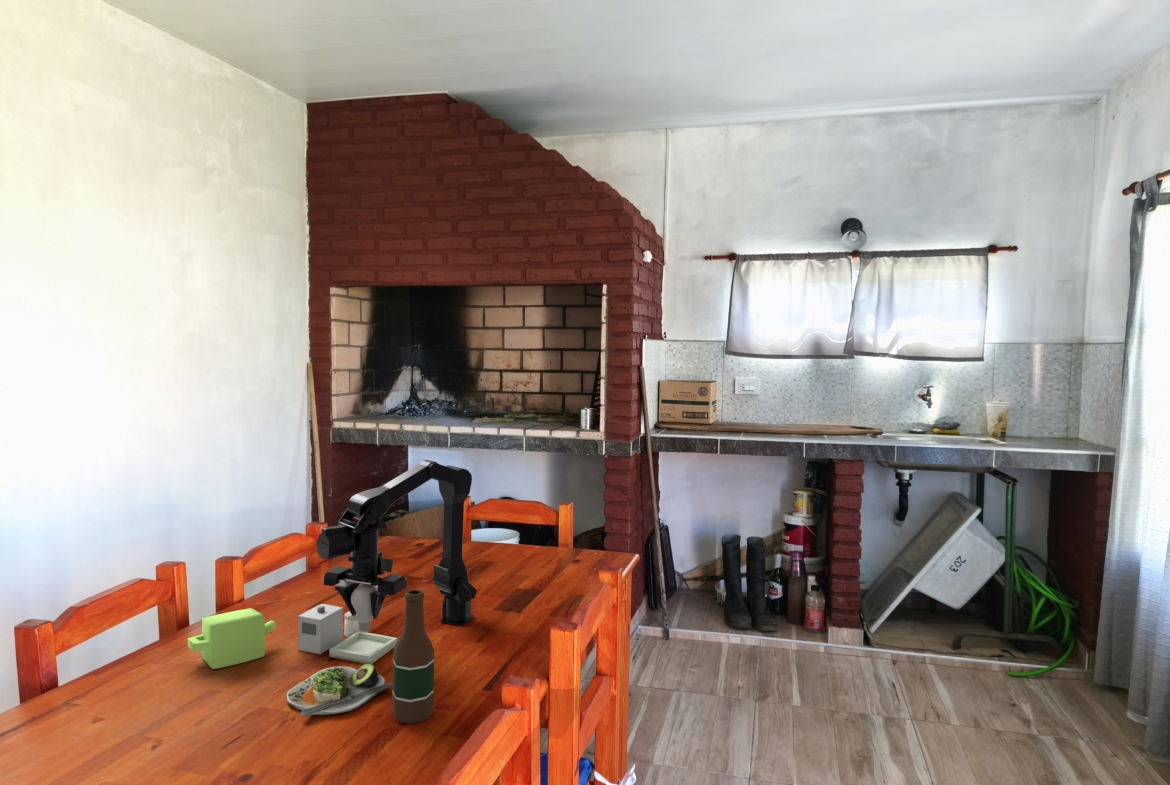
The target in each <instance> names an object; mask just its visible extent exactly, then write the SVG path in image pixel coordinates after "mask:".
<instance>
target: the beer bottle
mask: <svg viewBox="0 0 1170 785" xmlns="http://www.w3.org/2000/svg"><path fill="white" fill-rule="evenodd" d="M425 598H426V597H425V593H424V592H423V590H421V589H411V590H408V591H407V592H405V594H404V599H405V607H404V608H405V609H404V618H403V619H404V621H403V622H404V623H403V630H402V634H401V635H400V637H399V638H397V642H396V645H395V647H394V648H393V652H392V689H391V690H392V700H391V703H392V715H393V716H394V719H395V720H396V722H397V723H401V724H406V725H410V726H411V725H414V724H420V723H424V722H425V721H426V720H427V719H429V717H431V715H433V714H434V713H433V712H434V704H435V702H434V701H435V700H434V699H435V698H434V697H435V695H434V694H435V651H434V650H435V649H434V646H433V643H432V641H431V639H430V638H429V637H428V635H427V633H426V629H425V628H426V627H425V614H424V613H425V612H424V599H425Z"/></svg>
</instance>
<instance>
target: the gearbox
mask: <svg viewBox="0 0 1170 785" xmlns="http://www.w3.org/2000/svg"><path fill="white" fill-rule="evenodd" d="M265 620H266V619H265V616H264V615H263V614H262V613H261V612H259V611H257V610H255V609H253V608H251V607H250V608H245V609H243V608H242V609H239V610H234V611H233V610H232V611H227V612H224V613H219V614H214V615H210V616H207V617H203V618H202V619H201V634H200V635H195V636H191V637H187V647H188V648H189V649H190V650H191V651H192V652H193V653H195V652H201V658H202V659H203V661H204V663H206V664H207V666H208V667H210V668H211V669H212V670H216V669H221V668H225V667H226V668H227V667H230V666H234V665H235V666H236V665H238V664H242V663H246V662H249V661H253V660H257V659H260V658H263V657H265V652H266V651H265V646H266V645H265V644H266V642H265V640H266V639H265V638H266V636H265V635H267V634H269V633H271V631H273V630H275V629H276V628H277V622H276V621H274V620H270V621H268V622H266V621H265ZM265 622H266V623H265Z"/></svg>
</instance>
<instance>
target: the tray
mask: <svg viewBox="0 0 1170 785" xmlns="http://www.w3.org/2000/svg"><path fill="white" fill-rule="evenodd" d="M397 641H398V637H393V636H388V635H383V634H377V633H372V632H368V631H367V632H361V631H358V632H356V633H355V634H353V635H351V636H350V637H346V638H345V639H343V641H341V642H339V643H338V644H336V645H335V646H333V647H331V648H330V649H329V658H335V659H340V660H343V661H350V662H355V663H361V664H363V665H364V664H368V663H369V664H373V663H375V662H376V661H378V660H379V659H380V658H382V657H383V656H385V655H386V654H387V653H389V652H391V651H392V650H394V648H395V645H396V642H397Z"/></svg>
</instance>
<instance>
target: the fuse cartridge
mask: <svg viewBox="0 0 1170 785" xmlns="http://www.w3.org/2000/svg"><path fill="white" fill-rule="evenodd" d="M358 631H360V630H359V622H358V617H357V613H356V615H355V616H352V614H351V612H350V611H349V610H348V611H347V612H345V613H344V630H343V636H344V637H346V638H348V637H350V636H351V635H353V634H355V633H356V632H358ZM361 632H362V631H361Z"/></svg>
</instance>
